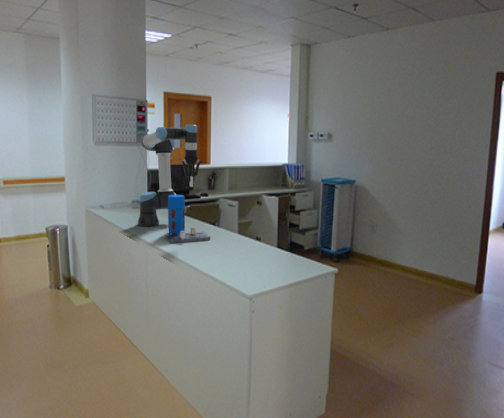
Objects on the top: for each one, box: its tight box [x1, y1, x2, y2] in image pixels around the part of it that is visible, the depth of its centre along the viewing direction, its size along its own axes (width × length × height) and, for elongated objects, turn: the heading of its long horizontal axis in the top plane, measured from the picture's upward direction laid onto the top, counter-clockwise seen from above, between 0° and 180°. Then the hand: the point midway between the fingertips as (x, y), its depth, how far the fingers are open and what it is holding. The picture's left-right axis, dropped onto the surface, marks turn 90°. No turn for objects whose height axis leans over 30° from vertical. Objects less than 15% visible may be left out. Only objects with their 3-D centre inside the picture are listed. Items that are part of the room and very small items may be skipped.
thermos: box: [167, 194, 186, 235], centre depth 269 cm, size 11×11×25 cm
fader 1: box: [180, 231, 186, 239], centre depth 248 cm, size 4×2×4 cm, turn 25°
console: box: [163, 231, 211, 244], centre depth 254 cm, size 15×26×2 cm, turn 115°
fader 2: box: [190, 226, 197, 234], centre depth 259 cm, size 4×2×4 cm, turn 25°
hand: (191, 186), depth 258 cm, fingers closed
